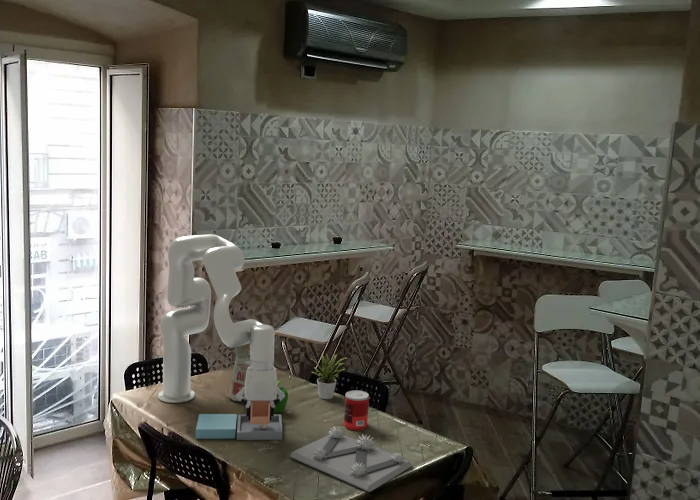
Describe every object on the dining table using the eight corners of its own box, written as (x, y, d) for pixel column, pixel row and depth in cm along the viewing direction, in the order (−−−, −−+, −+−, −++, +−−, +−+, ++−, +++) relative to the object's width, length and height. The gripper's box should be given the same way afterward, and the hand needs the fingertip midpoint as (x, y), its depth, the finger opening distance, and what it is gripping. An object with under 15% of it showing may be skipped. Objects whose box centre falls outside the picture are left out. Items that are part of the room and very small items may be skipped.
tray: (238, 421, 221) (238, 414, 220) (280, 421, 223) (281, 414, 222) (236, 439, 207) (236, 432, 207) (282, 439, 209) (282, 432, 209)
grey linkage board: (287, 459, 197) (288, 437, 196) (334, 437, 214) (335, 416, 212) (369, 496, 179) (371, 471, 177) (413, 468, 195) (415, 445, 194)
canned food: (370, 424, 224) (372, 393, 222) (361, 433, 217) (363, 400, 215) (350, 419, 227) (351, 388, 226) (339, 427, 220) (341, 395, 218)
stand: (199, 422, 218) (199, 414, 218) (236, 422, 220) (236, 414, 219) (195, 438, 206) (195, 429, 206) (235, 438, 208) (235, 429, 208)
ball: (270, 419, 216) (267, 427, 217) (261, 415, 216) (257, 424, 216) (270, 423, 213) (266, 432, 213) (261, 419, 213) (257, 428, 213)
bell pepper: (276, 417, 226) (277, 389, 224) (258, 411, 230) (259, 383, 229) (292, 410, 232) (293, 383, 231) (275, 404, 237) (276, 377, 236)
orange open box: (250, 416, 217) (251, 397, 216) (269, 416, 218) (269, 397, 217) (250, 424, 211) (250, 404, 210) (269, 423, 212) (270, 404, 211)
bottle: (247, 392, 247) (250, 318, 243) (257, 400, 240) (260, 324, 236) (225, 395, 243) (227, 320, 239) (234, 404, 235) (237, 326, 231)
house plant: (356, 398, 247) (358, 355, 245) (330, 407, 237) (333, 363, 234) (328, 387, 256) (330, 346, 254) (302, 396, 246) (304, 353, 244)
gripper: (233, 367, 207) (232, 423, 209) (289, 368, 209) (287, 422, 212) (234, 360, 214) (232, 413, 217) (288, 360, 217) (286, 413, 219)
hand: (259, 417), depth 214 cm, fingers closed on orange open box, 6 cm apart
